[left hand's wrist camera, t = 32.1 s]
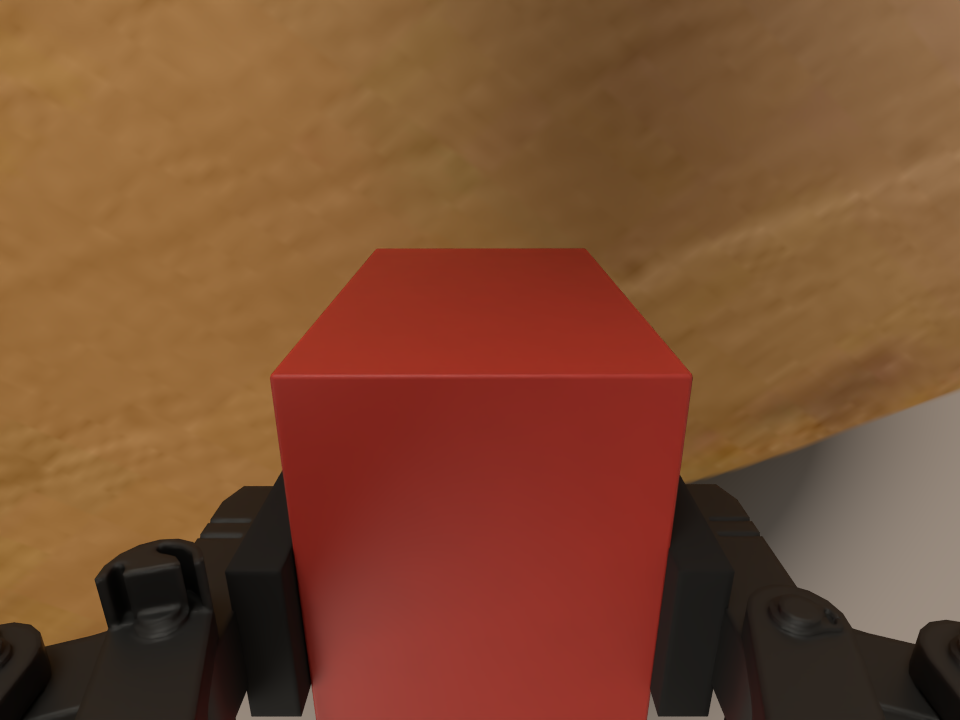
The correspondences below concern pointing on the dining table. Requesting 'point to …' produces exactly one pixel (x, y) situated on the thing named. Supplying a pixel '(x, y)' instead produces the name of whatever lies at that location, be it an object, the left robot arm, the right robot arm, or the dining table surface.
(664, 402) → the block
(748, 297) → the dining table surface
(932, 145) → the dining table surface
